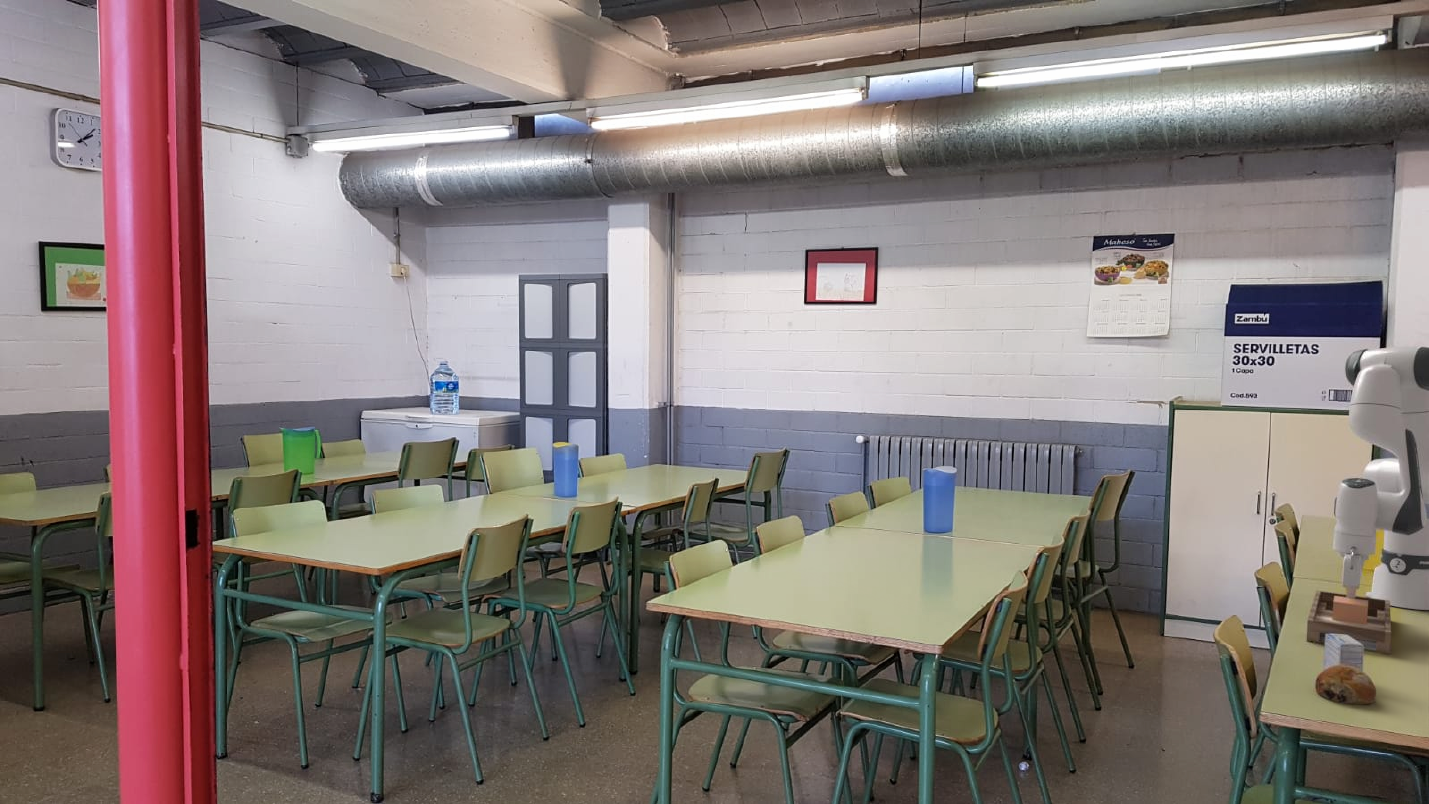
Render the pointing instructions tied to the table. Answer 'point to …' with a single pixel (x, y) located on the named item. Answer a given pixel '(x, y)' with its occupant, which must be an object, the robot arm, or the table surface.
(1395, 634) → the table surface
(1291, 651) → the table surface
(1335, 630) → the tray
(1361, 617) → the block
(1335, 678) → the bread roll
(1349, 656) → the medicine box
